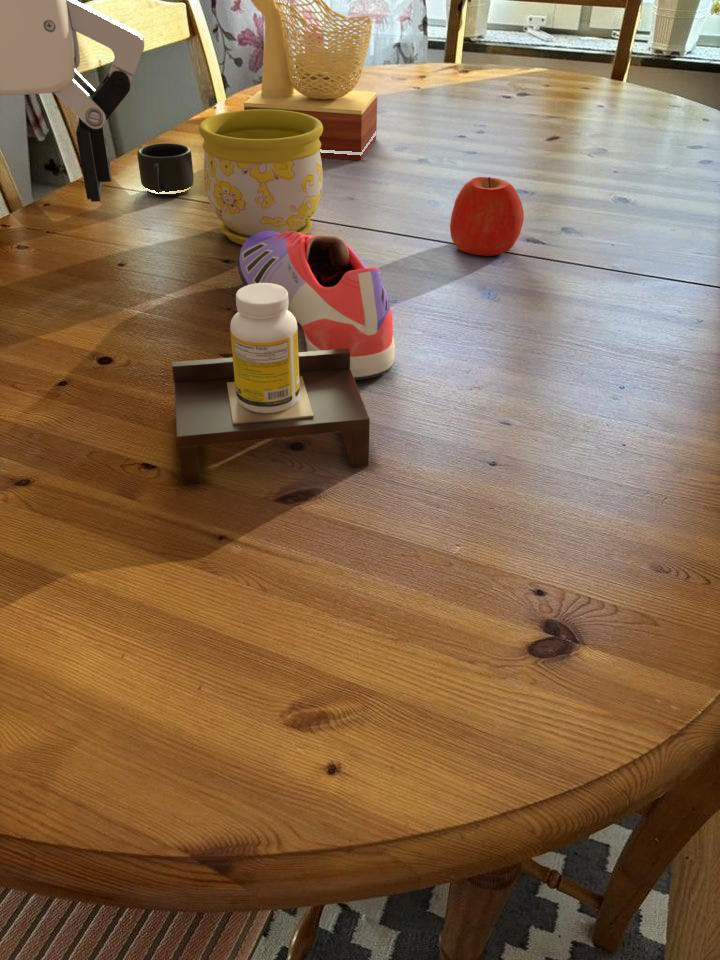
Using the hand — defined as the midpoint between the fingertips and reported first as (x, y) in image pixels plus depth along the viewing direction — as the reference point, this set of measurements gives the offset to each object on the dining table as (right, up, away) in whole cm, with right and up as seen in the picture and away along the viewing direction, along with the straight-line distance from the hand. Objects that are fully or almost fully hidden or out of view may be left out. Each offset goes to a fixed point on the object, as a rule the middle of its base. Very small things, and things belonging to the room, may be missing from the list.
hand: (10, 198), depth 50 cm
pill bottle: (+11, -9, +34) cm, 37 cm away
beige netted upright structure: (+10, +52, +126) cm, 137 cm away
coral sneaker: (+14, +4, +60) cm, 62 cm away
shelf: (+11, -13, +38) cm, 41 cm away
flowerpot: (+6, +22, +85) cm, 88 cm away
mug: (-13, +33, +99) cm, 105 cm away
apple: (+39, +19, +82) cm, 93 cm away
